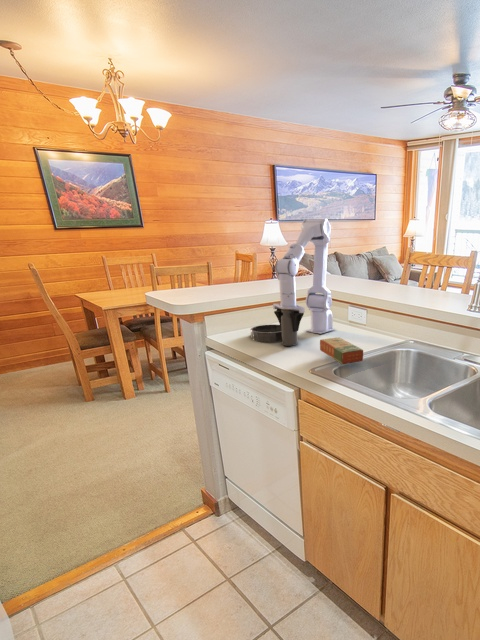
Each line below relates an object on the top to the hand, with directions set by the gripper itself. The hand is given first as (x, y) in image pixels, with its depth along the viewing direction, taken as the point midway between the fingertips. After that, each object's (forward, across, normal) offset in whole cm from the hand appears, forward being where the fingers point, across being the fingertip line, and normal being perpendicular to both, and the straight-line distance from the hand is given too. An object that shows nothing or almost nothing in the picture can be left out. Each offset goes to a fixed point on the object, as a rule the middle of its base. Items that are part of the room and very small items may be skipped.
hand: (289, 330), depth 155 cm
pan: (+6, -13, +2) cm, 14 cm away
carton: (+5, +26, -2) cm, 27 cm away
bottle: (+6, 0, 0) cm, 6 cm away
